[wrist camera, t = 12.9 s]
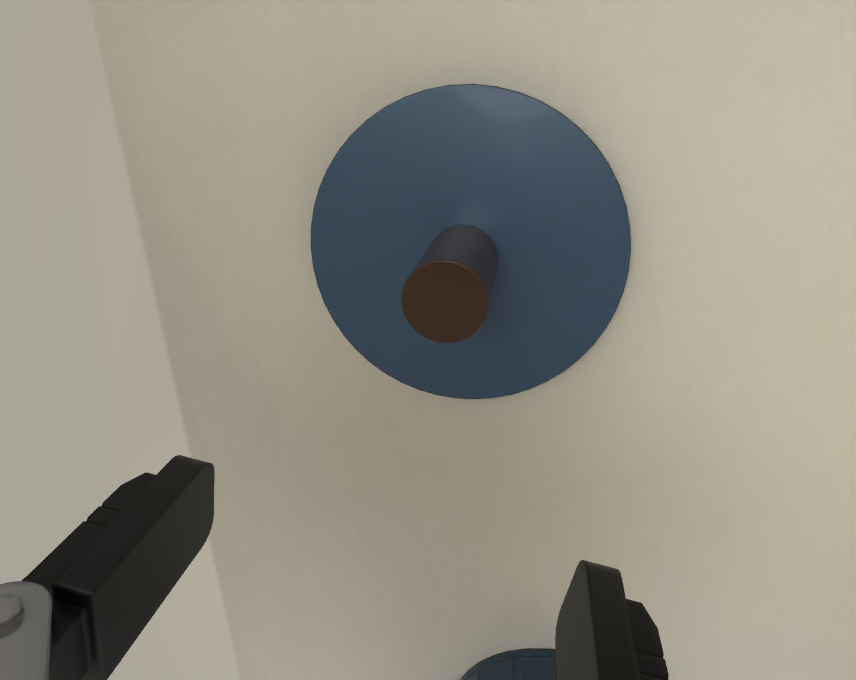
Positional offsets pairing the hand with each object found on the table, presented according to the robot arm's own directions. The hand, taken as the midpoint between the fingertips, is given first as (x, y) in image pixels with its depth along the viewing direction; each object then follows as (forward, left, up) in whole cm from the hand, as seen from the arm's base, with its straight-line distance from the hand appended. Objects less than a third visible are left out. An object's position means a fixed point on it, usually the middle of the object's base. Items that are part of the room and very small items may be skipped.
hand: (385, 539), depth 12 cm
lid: (0, +2, -15) cm, 15 cm away
